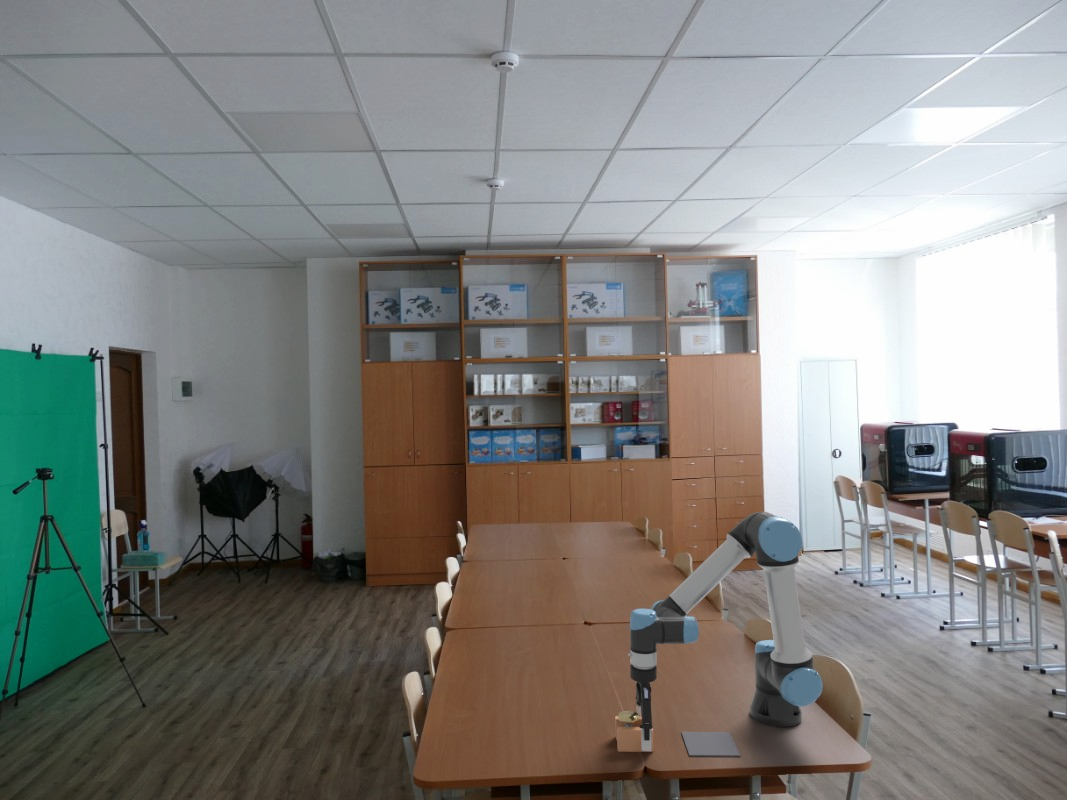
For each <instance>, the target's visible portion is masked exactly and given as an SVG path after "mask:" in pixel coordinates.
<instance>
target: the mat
mask: <svg viewBox="0 0 1067 800" xmlns="http://www.w3.org/2000/svg"><path fill="white" fill-rule="evenodd" d="M680 733H681V736H682V738H683V742H684V744H685V748H686V750H687V753H688V756H689V757H716V758H717V757H727V758H729V757H732V758H735V757H737V758H738V757H741V756H742V755H741V753H740V751H739V749H738V747H737V745H736V743H735V741H734V739H733V737H732V735H731V733H730V731H681V732H680Z"/></svg>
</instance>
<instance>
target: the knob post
mask: <svg viewBox="0 0 1067 800" xmlns="http://www.w3.org/2000/svg"><path fill="white" fill-rule="evenodd" d="M617 716H618V720H619V721H621V722H623V723H624V725H625V727H633V723H636V722H638V721H639V714H638V713H637V711H634V710H622V711H619V712H618V714H617Z"/></svg>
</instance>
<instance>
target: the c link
mask: <svg viewBox="0 0 1067 800" xmlns="http://www.w3.org/2000/svg"><path fill="white" fill-rule="evenodd" d="M614 720H615V721H614V723H615V740H616V742H617V743H616V745H617V748H616V749H617V752H620V753H621V752H623V753H624V752H627V753H628V752H630V753H631V752H632V753H633V752H634V753H636V752H637V753H641V752H644V753H645V752H649V753H653V752H654V751H655V749H654V748H655V747H654V746H655V745H654V728H652V729H651V747H652V751H642V750H641V728H640V727H639V726H640V725H642V717H641V716H639V721H638V722H636V723H633V727H625V725H624V723H623V722H621V721H619V720H618V715H615V719H614ZM646 724H649V723H646Z"/></svg>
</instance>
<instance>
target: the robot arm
mask: <svg viewBox="0 0 1067 800" xmlns="http://www.w3.org/2000/svg"><path fill="white" fill-rule="evenodd" d="M802 547H803V536H802V534H801V532H800V530H799V528H798V527H797V526H796V525H795V524H794V523H793V522H792V521H790V520H789V519H787V518H786V517H783V516H777V515H776V514H775V515H774V514H772V513H770V512H767V511H757V512H753V513H751V514H748V515H747V516H746V517H744V518H743V519H742V520H740V522H738V523H737V524H736V525H735V526H734V527H733V528H732V529H731V530H730V531H729V532H728V533H727V534H726V540H724V542H722V544H720V545H719V547H718V548H716V549H715V550H714V551H713V552H712V553H711V554H710V555H709V556H708V557H707V558H706V559H705V560H704V561H703V562H702V563H701V564H700V565H699V566H698V567H697V568H696V569H695V570H693V571H692V573H691V574H690V575H689V576H688V577H687V578H685V580H684V581H683V582H682V583H680V585H678V587H676V588H675V590H673V591H672V593H670V594H669V595H668V596H667V597H666V598H665V599H664V600H658V601H656V602H654V603H653V604H652V606H651V607H650V608H636V609H633V610H632V611H631V613H630V617H629V618H630V619H629V637H630V638H629V640H630V641H629V643H630V644H629V645H630V646H629V647H630V648H629V650H630V652H628V654H627V656H628V657H630V660H629V661H630V667H629V668H630V669H629V672H630V674H629V677H630V678H631V680H632V681H634V682H636V684H635V691H636V692H635V700H636V701H635V703H636V713H638V714H639V716H641V717H642V725H640V726H639V727H640V728H641V750H642V751H652V747H651V729H652V728H653V722H652V721H653V719H652V718H653V717H652V716H653V715H652V696H651V695H652V687H651V683H652V682H655V681H656V680H657V677H658V676H657V673H658V670H657V669H658V668H657V664H658V663H657V662H658V651H657V649H658V647H657V645H670V644H671V645H673V644H675V645H677V644H678V645H679V644H680V645H681V644H682V645H683V644H684V645H688V644H693V643H696V642H697V641H698V640H699V636H700V632H699V631H700V628H699V622H698V621H697V618H696V617H695V616H693V615H688V613H690V612H691V610H693V609H694V608H695V607H696V606H697V605H698V604H700V602H701V601H702V600H704V598H705V597H706V596H707V595H708V594H710V592H711V591H713V589H714V588H715V587H716V586H718V584H719V583H721V581H723V580H724V578H726V577H727V576H728V575H729V574H730V573H731V572H732V571H733V570H734V569H735V568H737V566H738V565H739V564H740V563H741V562H742V561H744V559H750V558H752V556H754V555H755V557H756V563H757V565H758V566H759V568H762V570H763V576H764V581H765V588H766V595H767V596H766V597H767V602H768V609H769V616H770V618H769V619H770V626H771V631H772V632H771V633H772V638H773V639H768V640H767V639H766V640H765V639H764V640H760V641H758V642H756V644H755V646H754V647H755V648H754V668H755V669H754V670H755V673H754V674H755V690H754V693H753V697H752V699H751V703H750V706H749V707H750V709H749V711H750V716H751V718H752V719H754V720H755V721H756V722H758V723H761V724H763V725H767V726H771V727H778V728H780V727H781V728H782V727H783V728H787V727H788V728H790V727H794V726H797V725H798V724H800V723H802V720H803V717H802V715H803V714H802V709H801V707H807V706H810V705H812V704H813V703H814V704H815V702H816V701H817V699H818V698H819V697H821V694H822V692H823V686H824V685H823V679H822V678H821V676H820V674H819V673H818V671H817V670H815V665H814V659H813V653H812V651H810V650H809V649H808V648H807V647H806V643H805V642H806V641H805V635H804V627H803V621H802V613H801V608H800V607H801V606H800V599H799V593H798V585H797V578H796V572H795V567H796V566H797V565H798V564H799V561H800V560H799V553H800V552H801V550H802ZM646 723H649V724H646ZM653 729H654V728H653Z"/></svg>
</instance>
